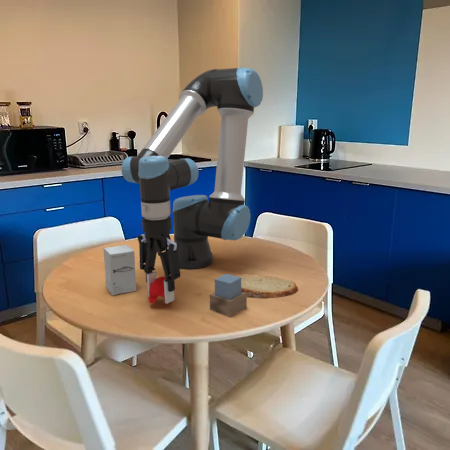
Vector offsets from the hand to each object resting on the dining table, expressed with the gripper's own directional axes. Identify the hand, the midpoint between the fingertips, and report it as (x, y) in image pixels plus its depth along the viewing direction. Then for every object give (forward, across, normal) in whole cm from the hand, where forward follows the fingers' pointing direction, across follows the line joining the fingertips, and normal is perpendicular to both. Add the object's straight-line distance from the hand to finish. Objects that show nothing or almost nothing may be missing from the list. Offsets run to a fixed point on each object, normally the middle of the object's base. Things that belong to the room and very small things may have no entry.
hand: (161, 298), depth 124 cm
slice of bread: (+3, +15, +26) cm, 30 cm away
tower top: (-2, +16, +9) cm, 19 cm away
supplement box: (+2, -17, -1) cm, 17 cm away
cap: (+1, 0, 0) cm, 1 cm away
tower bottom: (+2, +16, +9) cm, 19 cm away
